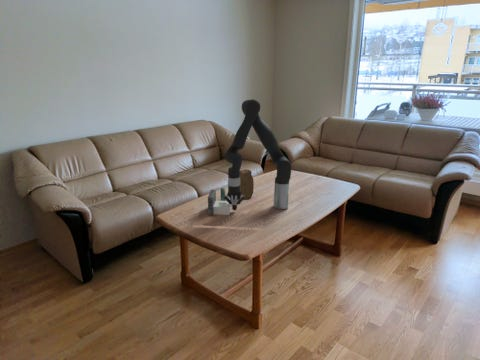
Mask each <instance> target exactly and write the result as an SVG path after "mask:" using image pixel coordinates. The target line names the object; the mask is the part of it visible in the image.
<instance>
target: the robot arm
mask: <svg viewBox="0 0 480 360" xmlns="http://www.w3.org/2000/svg"><path fill="white" fill-rule="evenodd" d="M260 111H261V103H260V102H259V100H257V99H254V98H253V99H251V98H250V99H245V100H244V101H243V102H242V104H241V112H242V113H243V115H244V117H243V121H242V122H241V124H240V126H239V127H238V129H237V130H236V133H235V135H234V138H233V141H232V143H231V145H230V146H229V148H228V149H227V151H226V153H225V161H226V162H227V163H230V164H232V166H231V167H228V169H227V176H228V177H227V193H226V194H225V196H224V198H225V201H227V202H228V203H229V204H231V210H232V211H236V210H237V209H238V205H240V204H241V203H242V201H243V200H245V199H244V196H243V195H241V192H240V171H241V166H242V164H243V157H242V156H243V155H242V154H240V153H239V150H243V149H244V148H245V144H246V142H247V140H248V139H247V138H248V136H249V134H250V131H251V128H253V130H254V132H255V134H256V136H257V137H258V139H259V141H260V142H261V144H262V146H263V147H264V149H265V150H266V152H267V153H268V154H269V156H270V158H271V161H272V162H273V165H274V167H275V169H276V176H275V178H274V191H273V208H274V209H277V210H286V209H287V210H288V209H289V198H290V197H289V191H290V180H291V175H292V163H291V162H290V160H289V159H288V158H287V157H286V156H285V155H284V154H283V153H284V152H282V151H281V149H280V147H279V146H280V145H279V143H278V140H277V138H276V135H275V133H274V132H273V130H272V128H271V127H270V126H269V125H268V124H267V123H266V121H264V120H263V119H262V117H261V116H260V114H259V112H260ZM240 196H241V197H240ZM239 197H240V198H239Z"/></svg>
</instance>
